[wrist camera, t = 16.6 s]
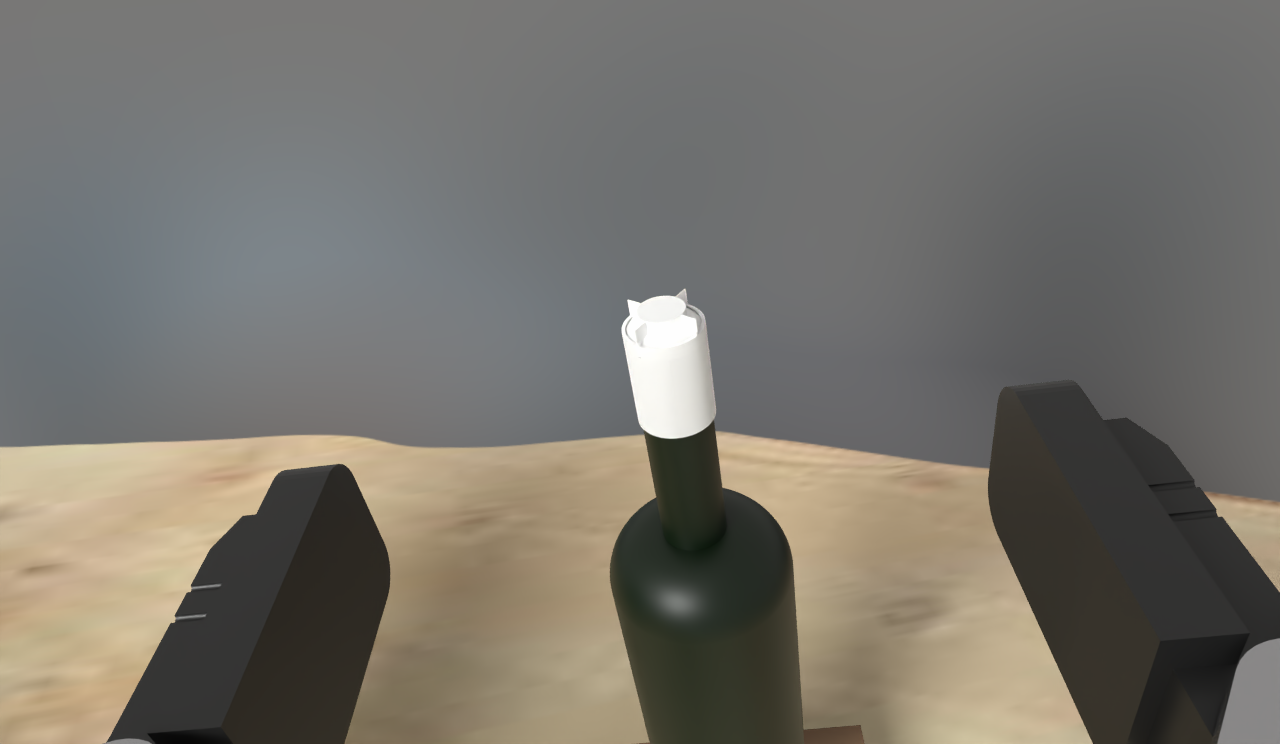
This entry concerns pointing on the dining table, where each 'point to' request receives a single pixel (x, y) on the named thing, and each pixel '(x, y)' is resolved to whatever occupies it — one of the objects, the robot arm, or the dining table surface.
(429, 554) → the dining table surface
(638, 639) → the wine bottle
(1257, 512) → the dining table surface
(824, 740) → the walnut block
